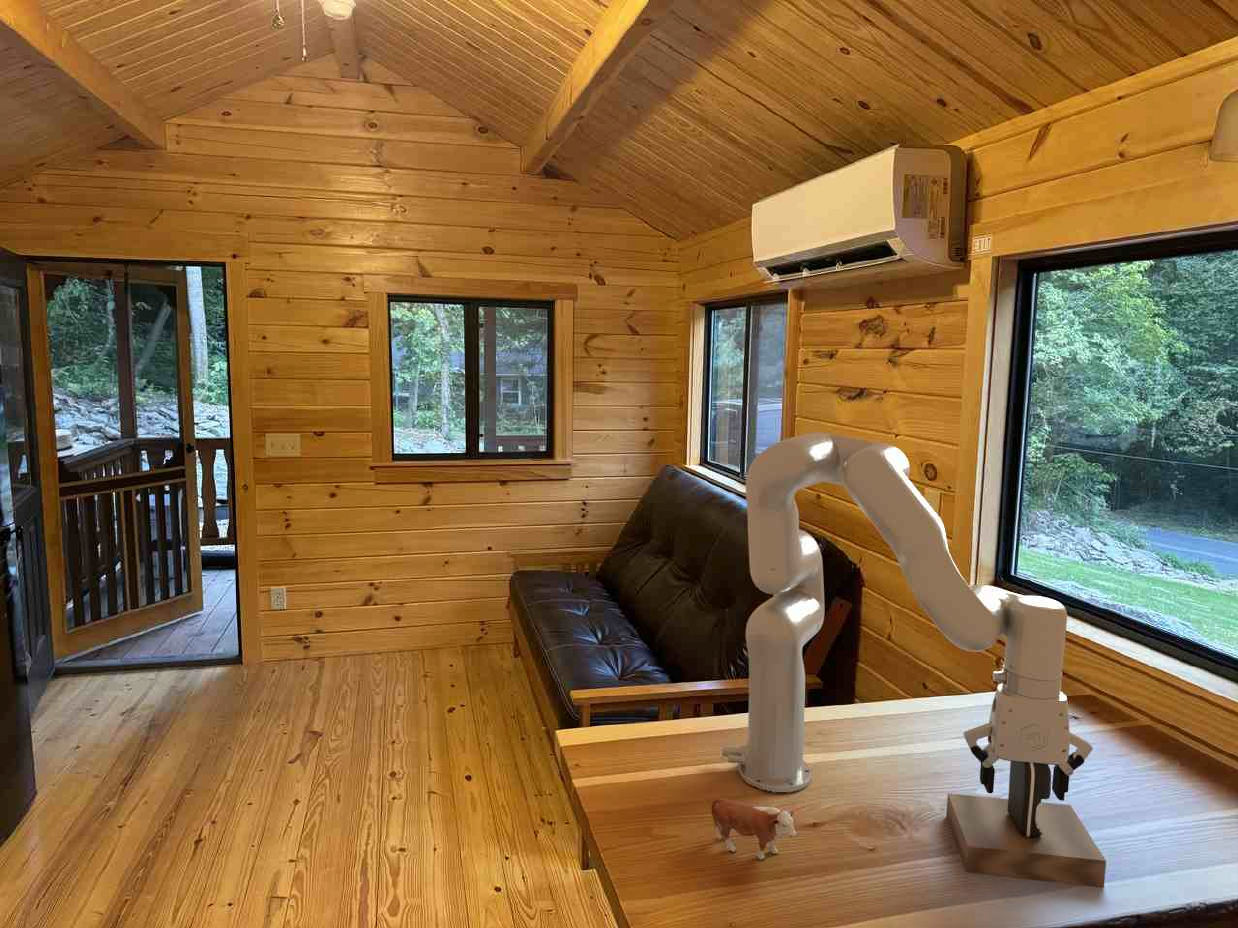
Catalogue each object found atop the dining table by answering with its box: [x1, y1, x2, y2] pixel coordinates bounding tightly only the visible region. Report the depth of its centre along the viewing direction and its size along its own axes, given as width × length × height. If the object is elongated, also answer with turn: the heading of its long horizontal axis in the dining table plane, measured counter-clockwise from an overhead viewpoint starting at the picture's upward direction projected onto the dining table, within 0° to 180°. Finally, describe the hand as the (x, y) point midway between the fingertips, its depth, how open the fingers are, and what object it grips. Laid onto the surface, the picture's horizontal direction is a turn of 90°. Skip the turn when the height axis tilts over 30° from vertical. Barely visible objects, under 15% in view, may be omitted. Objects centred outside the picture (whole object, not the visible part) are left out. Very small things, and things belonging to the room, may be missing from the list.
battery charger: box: [1007, 761, 1052, 837], centre depth 119 cm, size 7×4×11 cm, turn 172°
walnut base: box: [945, 793, 1107, 888], centre depth 121 cm, size 18×14×4 cm
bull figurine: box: [710, 797, 797, 860], centre depth 120 cm, size 4×13×8 cm, turn 58°
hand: (1022, 791), depth 120 cm, fingers open, 9 cm apart
